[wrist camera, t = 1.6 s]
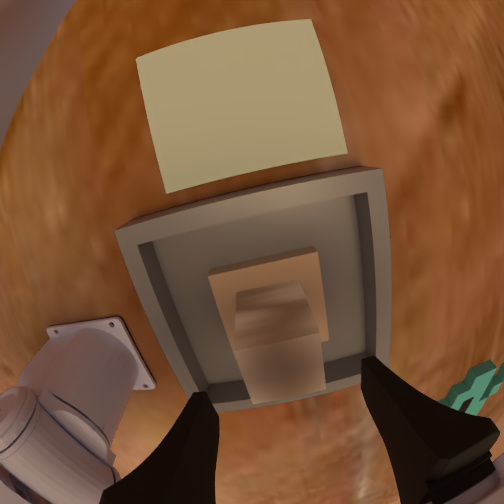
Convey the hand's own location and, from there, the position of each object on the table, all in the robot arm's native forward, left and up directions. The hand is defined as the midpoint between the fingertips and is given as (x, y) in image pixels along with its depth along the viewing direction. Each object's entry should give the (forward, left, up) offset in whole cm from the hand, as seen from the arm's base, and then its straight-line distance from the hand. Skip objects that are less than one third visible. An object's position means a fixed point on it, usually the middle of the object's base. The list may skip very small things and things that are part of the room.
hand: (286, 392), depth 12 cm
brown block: (0, 0, -7) cm, 7 cm away
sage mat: (+1, +14, -9) cm, 17 cm away
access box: (0, 0, -9) cm, 9 cm away
